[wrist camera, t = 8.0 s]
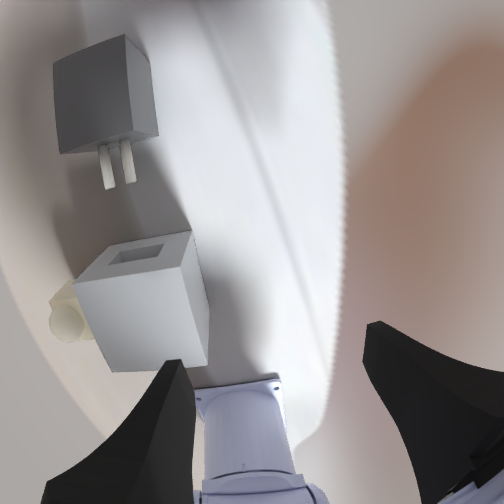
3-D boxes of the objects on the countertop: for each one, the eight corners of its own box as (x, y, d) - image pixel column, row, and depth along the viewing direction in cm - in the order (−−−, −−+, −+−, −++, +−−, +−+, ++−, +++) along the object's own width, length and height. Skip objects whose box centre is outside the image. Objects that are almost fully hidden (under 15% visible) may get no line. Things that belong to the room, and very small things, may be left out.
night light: (122, 313, 18) (102, 353, 14) (80, 317, 18) (55, 354, 14) (108, 274, 17) (81, 309, 13) (65, 281, 17) (34, 313, 13)
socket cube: (209, 309, 20) (207, 365, 15) (134, 319, 20) (112, 372, 14) (192, 230, 18) (179, 266, 13) (109, 245, 18) (71, 283, 12)
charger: (164, 173, 16) (142, 182, 12) (107, 186, 16) (69, 202, 11) (148, 42, 13) (124, 9, 8) (92, 60, 13) (54, 38, 8)
